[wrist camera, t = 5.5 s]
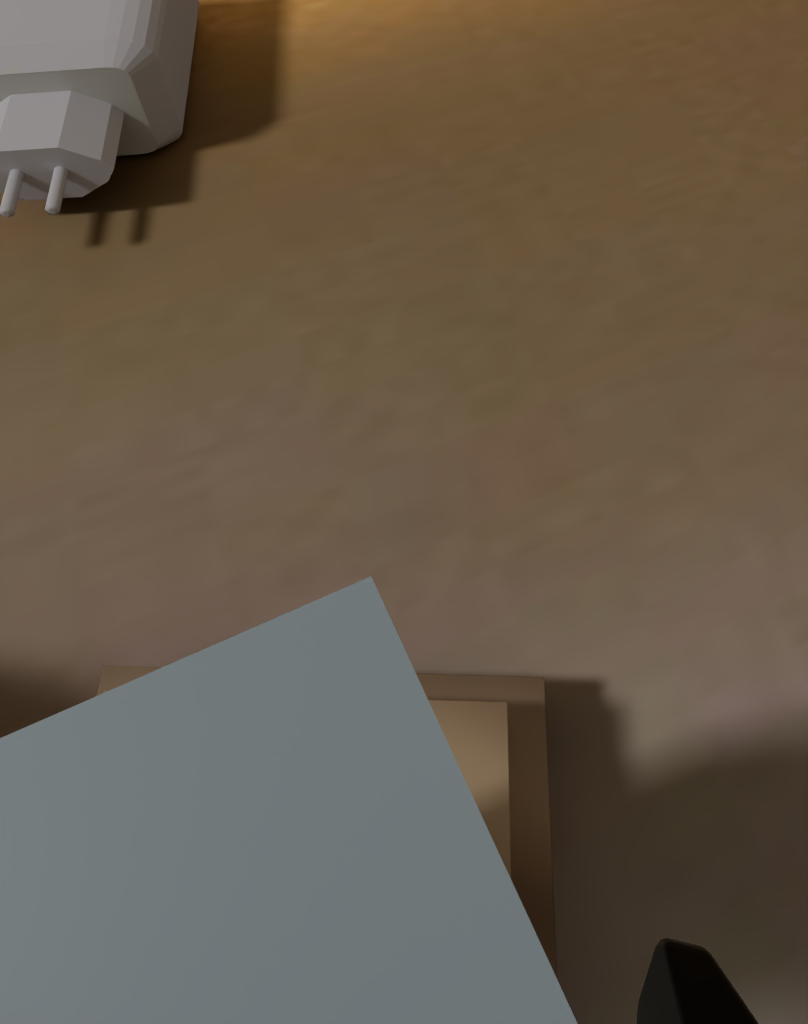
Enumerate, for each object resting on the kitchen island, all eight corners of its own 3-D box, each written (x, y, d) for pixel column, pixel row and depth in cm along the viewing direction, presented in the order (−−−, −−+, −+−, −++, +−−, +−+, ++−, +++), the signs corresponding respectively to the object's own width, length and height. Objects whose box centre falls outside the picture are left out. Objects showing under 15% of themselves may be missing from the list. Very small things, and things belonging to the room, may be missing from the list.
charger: (-54, 268, 30) (16, 33, 36) (174, 254, 30) (204, 20, 36) (-137, 169, 26) (-41, -78, 32) (129, 151, 25) (172, -94, 32)
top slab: (512, 1213, 15) (519, 1247, 14) (35, 1182, 16) (-2, 1212, 14) (502, 713, 19) (506, 702, 18) (127, 703, 20) (104, 691, 19)
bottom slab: (553, 1228, 17) (570, 1284, 15) (41, 1194, 18) (-18, 1242, 15) (533, 696, 22) (543, 677, 20) (136, 685, 23) (102, 665, 21)
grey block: (542, 1051, 12) (817, 1547, 3) (256, 1210, 12) (-394, 2401, 3) (416, 761, 14) (370, 576, 5) (166, 881, 14) (-372, 900, 5)
